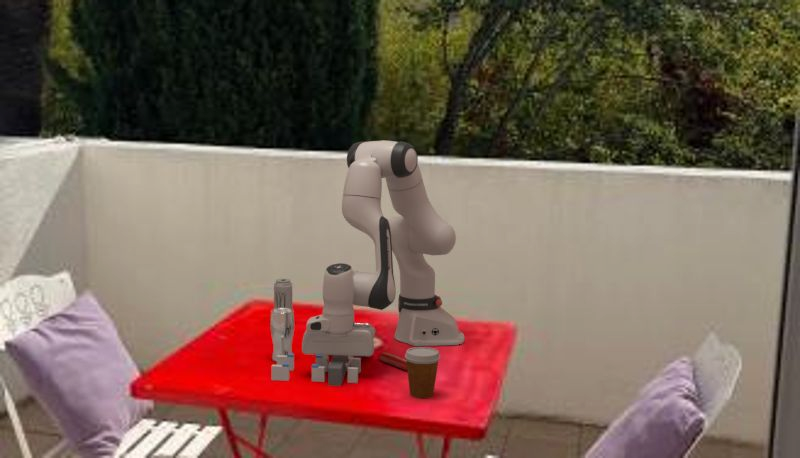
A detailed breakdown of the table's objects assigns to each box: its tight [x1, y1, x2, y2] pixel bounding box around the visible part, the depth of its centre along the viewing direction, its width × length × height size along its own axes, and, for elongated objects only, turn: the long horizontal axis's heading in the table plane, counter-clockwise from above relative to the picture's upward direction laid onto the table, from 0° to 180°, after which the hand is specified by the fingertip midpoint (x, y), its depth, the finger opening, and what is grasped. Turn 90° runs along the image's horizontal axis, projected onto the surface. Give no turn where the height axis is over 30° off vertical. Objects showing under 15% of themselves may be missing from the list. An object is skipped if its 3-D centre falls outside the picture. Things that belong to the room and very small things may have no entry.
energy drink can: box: [273, 278, 293, 309], centre depth 340 cm, size 6×6×15 cm
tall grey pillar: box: [327, 355, 348, 387], centre depth 288 cm, size 4×16×5 cm, turn 177°
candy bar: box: [377, 352, 408, 372], centre depth 298 cm, size 16×4×3 cm, turn 40°
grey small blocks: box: [270, 353, 362, 384], centre depth 288 cm, size 24×10×5 cm, turn 87°
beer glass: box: [270, 308, 295, 363], centre depth 301 cm, size 7×7×15 cm
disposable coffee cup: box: [404, 346, 441, 399], centre depth 273 cm, size 10×10×12 cm
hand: (337, 369), depth 288 cm, fingers closed on tall grey pillar, 3 cm apart
